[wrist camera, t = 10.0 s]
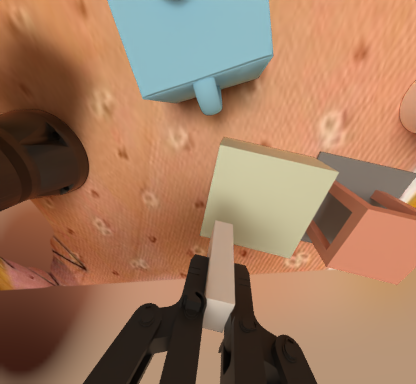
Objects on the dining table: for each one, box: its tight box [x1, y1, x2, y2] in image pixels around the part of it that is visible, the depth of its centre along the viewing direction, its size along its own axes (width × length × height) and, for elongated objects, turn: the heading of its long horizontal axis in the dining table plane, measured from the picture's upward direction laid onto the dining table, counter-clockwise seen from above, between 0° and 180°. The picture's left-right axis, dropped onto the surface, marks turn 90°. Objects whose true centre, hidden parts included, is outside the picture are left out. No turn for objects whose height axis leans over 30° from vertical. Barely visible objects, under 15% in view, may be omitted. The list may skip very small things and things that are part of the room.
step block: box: [200, 137, 339, 259], centre depth 26 cm, size 14×14×7 cm
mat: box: [301, 152, 416, 244], centre depth 29 cm, size 14×16×1 cm
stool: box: [306, 180, 416, 285], centre depth 25 cm, size 10×9×9 cm
